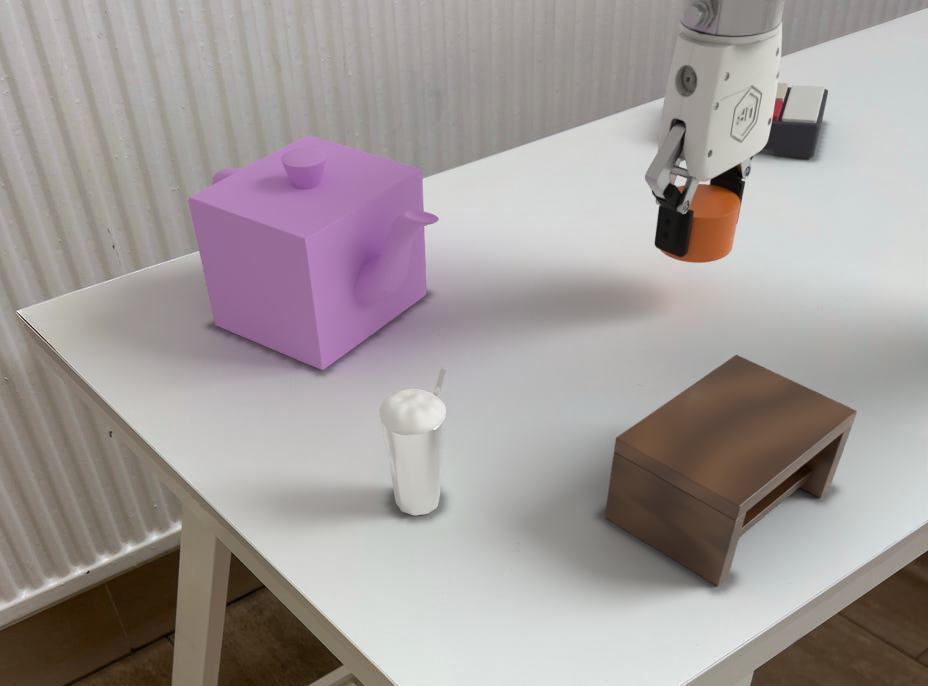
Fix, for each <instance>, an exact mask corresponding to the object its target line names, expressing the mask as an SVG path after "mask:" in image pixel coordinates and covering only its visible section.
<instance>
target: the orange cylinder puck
mask: <svg viewBox="0 0 928 686" xmlns="http://www.w3.org/2000/svg"><path fill="white" fill-rule="evenodd" d="M684 186H685V184H683V185H679V186H676V187H677V188H678V189H679V191H680V192H681V194H682V191H683V188H684ZM689 209H690V210H692V211H694V214H693V221H692V227H691V234H690V240H689V247H688V253H687V255H685V256H683V257H678V256H675V255H673V254H670V253H668V252H665V251H663V250H661V249H659V251H660V252H661V253H662V254H664V255H665V256H667V257H668V258H671V259H674V260H676V261H681V262H685V263H692V264H693V263H695V264H702V263H711V262H715V261H719V260H721V259H723V258H726V257H727V256H728V255H729V254H730V253H731V251H732V250H733V247H734V246H733V245H734V240H735V235H736V229H737V225H738V223H737V220H738V221H739V218H738V214H739V215H740V213H739V209H740V210H741V207H740V199H739V197H738V196H737V195H736V194H735V193H733V192H732V191H730V190H728V189H725V188H722V187H719V186H714V185H710V184H708V183H707V184H706V183H705V184H704V183H699V184H698V187H697V189H696V192H695V195H694V197H693V200H692V203H691V205H690V208H689Z"/></svg>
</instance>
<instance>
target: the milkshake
mask: <svg viewBox="0 0 928 686" xmlns="http://www.w3.org/2000/svg"><path fill="white" fill-rule="evenodd" d="M446 373H447V369H445V368H444V367H442V366H441V367H440V370H439V373H438V378H437V381H436V385H435V388H434V392H430V391H427V390H424V389H421V388H407V389H403V390H398V391H397V392H395V393H393V394H392V395H390V396H388V397H387V398H386V399H384V400H383V402H381V404H380V407H379V419H380V425H381V428H382V435H383V438H384V442H385V443H384V444H385V448H386V454H387V459H388V465H389V472H390V477H391V482H392V483H391V484H392V490H393V494H394V500H395V504H396V505H397V508H399V509H400V511H401V512H402V513H405V514H409V515H411V516H413V517H415V516H423V515H428V514H430V513H432V512H433V511H434V510H436V509H437V508H438V506H439V502H440V498H441V483H442V463H443V448H444V447H443V446H444V438H445V429H446V419H447V417H446V416H447V407H446V404H445V402H444V401H443V400H442V399H441V398H440V394H441V390H442V386H443V384H444V379H445V376H446Z"/></svg>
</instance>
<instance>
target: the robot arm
mask: <svg viewBox="0 0 928 686" xmlns="http://www.w3.org/2000/svg"><path fill="white" fill-rule="evenodd" d="M785 3H786V0H682V2H681V8H680V9H681V10H680V15H679V16H680V18H679V24H678V28H679V31H680V33H679V34H678V35H677V36H678V37H677V41H676V44H675V48H674V52H673V56H672V60H671V65H670V69H669V74H668V77H667V83H666V88H665V93H664V98H663V105H662V109H661V110H662V111H661V117H660V123H659V124H660V125H659V133H658V139H657V141H658V142H657V153H656V155H655V156H654V157H653V160H652V161H651V163H650V165H649V167H648V169H647V170H646V172H645V175H644V180H645V182H646V184H647V185H648V187H649V188H650V191H651V194H652V196H653V197H654V198H655V205H657V206H658V213H657V220H656V227H655V236H654V247H655V248H656V249H658V250H660V249H661V250H663V251H665V252H668V253H670V254H673V255H675V256H678V257H683V256H685V255H687V253H688V247H689V240H690V234H691V227H692V221H693V214H694V211H692V210H690V209H689V208H690V205H691V203H692V200H693V197H694V195H695V192H696V189H697V187H698V184H700V182H708V181H709V185H714V186H719V187H722V188H725V189H728V190H730V191H732V192H733V193H735V194H736V195H737V196H738V197H739V199H740V209H739V214H738V220H737V224H738V222H739V218H740V212H741V207H742V202H743V195H744V191H745V186H746V181H745V180H746V179H748V177H749V176H750V174H751V171H752V160H753V158H754V156H755V155H757V154H759V152H761V151H762V150H764V149H763V148H764V146H765V145H766V144H767V141H768V138H769V134H770V129H771V123H772V118H773V112H774V106H775V99H776V92H777V85H778V83H779V77H780V68H781V61H782V60H781V59H782V49H783V48H782V46H783V45H782V44H783V20H782V18H783V13H784V8H785ZM684 161H685V166H686V168H684V167H681V166H680V165H681V163H682V162H684ZM678 176H679V177H681V178H684V179H686V181H685V183H684V185H685V186H684V185H683V186H684V188H683V191H682V194H681V192H680V191H679V189H678V188H677V187H678V186H677V185H676V184H675V182H676V180H677V177H678ZM661 250H660V251H661Z"/></svg>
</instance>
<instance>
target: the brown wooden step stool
mask: <svg viewBox="0 0 928 686" xmlns="http://www.w3.org/2000/svg"><path fill="white" fill-rule="evenodd" d="M857 413H858V411H857V410H856V409H854V408H852V407H850V406H848V405H846V404H843V403H841V402H839V401H837V400H835V399H833V398H831V397H829V396H826V395H825V394H822V393H820V392H818V391H816V390H813V389H812V388H810V387H807V386H805V385H803V384H800V383H799V382H796V381H794V380H792V379H790V378H788V377H785V376H783V375H781V374H779V373H777V372H775V371H773V370H771V369H769V368H766V367H764V366H762V365H760V364H757V362H754V361H752V360H750V359H747V358H745V357H743V356H741V355H738V354H735V355H734V356H732V357H731V358H729V359H728V360H726V361H724V362H723V363H722V364H721V365H719V366H718V367H716V368H715V369H713V370H712V371H709V373H707V374H706V375H705V376H703V377H702V378H700V379H698V380H697V381H696V382H694V383H693V384H691V385H690V386H688V387H687V388H685V390H683V391H682V392H679V394H678V395H675V396H674V397H672V398H671V399H670V400H669V401H666V403H664V404H663V405H661V406H660V407H658V408H657V409H656V410H654V411H652V412H651V413H650V414H648V415H647V416H645V417H644V418H643V419H641V420H640V421H638V422H637V423H635V424H634V425H631V427H630V428H628V429H627V430H625V431H623V432H621V434H619V435H618V436H616V437H615V441H614V449H613V455H612V460H611V469H610V477H609V484H608V491H607V496H606V497H607V498H606V505H605V513H604V518H605V519H606V520H608V521H610V522H612V523H613V524H614V525H616V526H618V527H620V528H621V529H623V530H625V531H626V532H628V533H629V534H631V535H632V536H634V537H636V538H637V539H639V540H640V541H642V542H644V543H646V544H648V545H649V546H651V547H652V548H654V549H656V550H657V551H659V552H660V553H662V554H664V555H666V556H667V557H669V558H671V559H672V560H674V561H675V562H676V563H678V564H680V565H682V566H683V567H685V568H687V569H689V570H691V571H692V572H693V573H695V574H696V575H698V576H699V577H702V578H703V579H705V580H707V581H708V582H710V583H712V584H713V585H715V586H716V587H718V586H720V585H721V584H722V583H723V582H725V581H726V580H727V579H728V578H729V575H730V571H731V567H732V564H733V561H734V557H735V553H736V550H737V546H738V544H739V539H740V538H741V537H742V536H743V535H744V534H745V533H747V532H748V531H749V530H750V529H751V528H753V527H754V526H755V525H756V524H758V523H759V522H760V521H761V520H762V519H763V518H764V517H766V516H767V515H768V514H769V513H771V512H772V511H773V510H774V509H775V508H777V507H778V505H780V504H781V503H782V502H784V501H785V500H786V499H787V498H789V496H791V495H792V494H793V493H795V491H797V490H798V489H799V488H800V489H802V490H803V491H806V492H808V493H809V494H811V495H813V496H815V497H817V498H819V499H820V498H822V497H823V496H825V495H826V494H827V493H828V492H829V491H830V488H831V486H832V483H833V480H834V477H835V475H836V473H837V469H838V466H839V463H840V460H841V459H842V455H843V453H844V450H845V447H846V444H847V442H848V438H849V436H850V433H851V430H852V429H853V428H852V427H853V424H854V422H855V419H856V416H857Z"/></svg>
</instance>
